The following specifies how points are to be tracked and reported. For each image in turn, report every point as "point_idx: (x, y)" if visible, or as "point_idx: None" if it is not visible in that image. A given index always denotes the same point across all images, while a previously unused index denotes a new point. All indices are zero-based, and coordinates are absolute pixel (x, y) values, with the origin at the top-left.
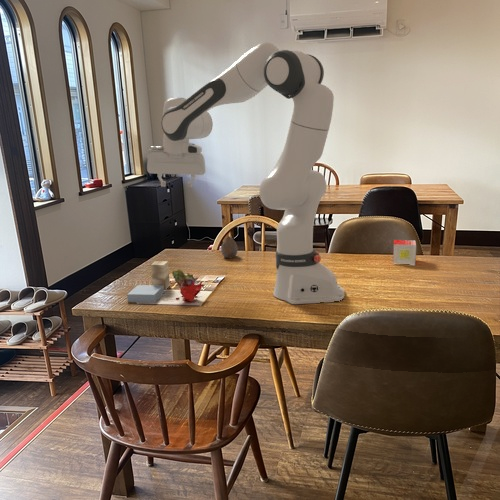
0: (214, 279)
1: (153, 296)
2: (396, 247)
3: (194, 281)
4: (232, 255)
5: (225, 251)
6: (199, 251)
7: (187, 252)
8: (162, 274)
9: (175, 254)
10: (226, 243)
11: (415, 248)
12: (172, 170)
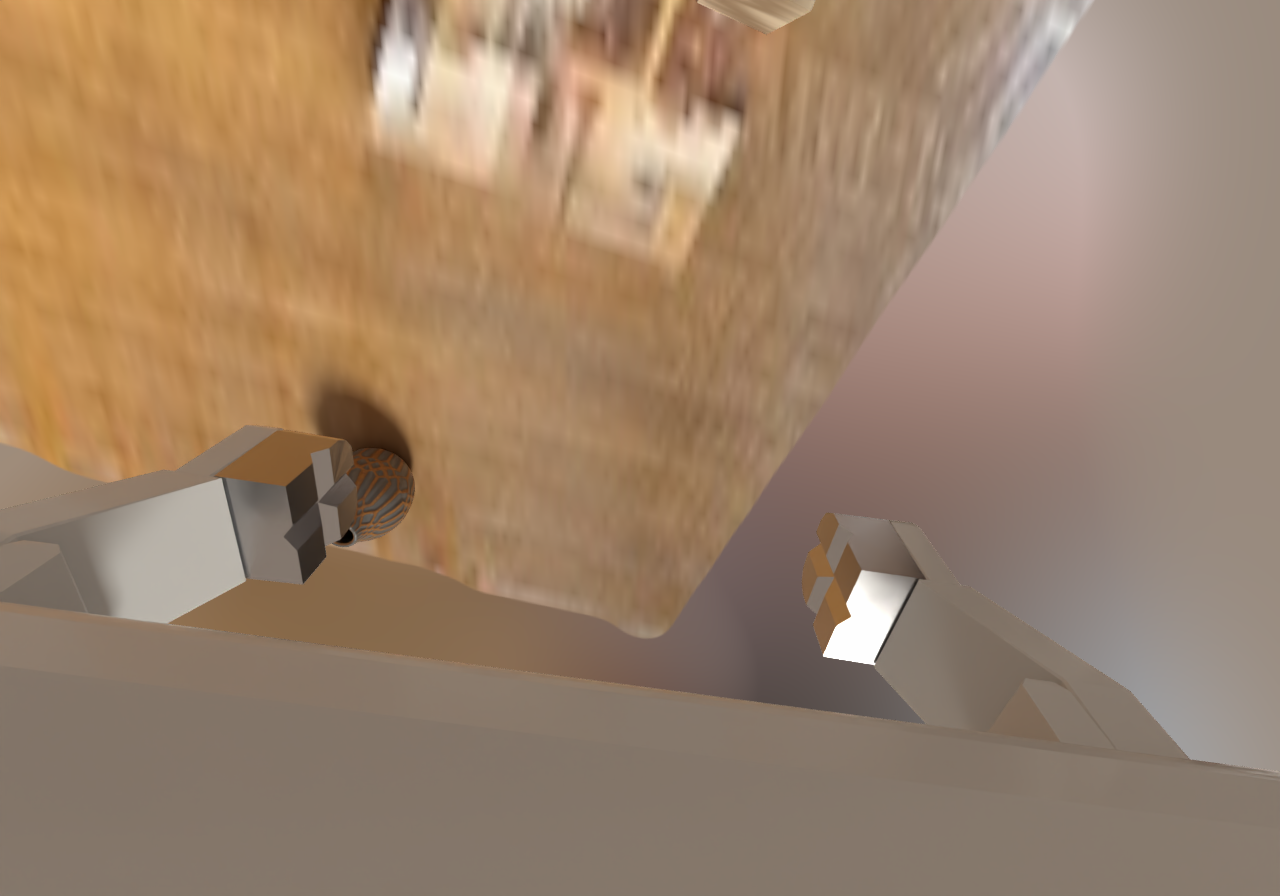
0: (431, 63)
1: None
2: None
3: None
4: (359, 449)
5: (385, 462)
6: (534, 583)
7: (587, 582)
8: None
9: (640, 568)
10: (363, 493)
11: None
12: (697, 836)
